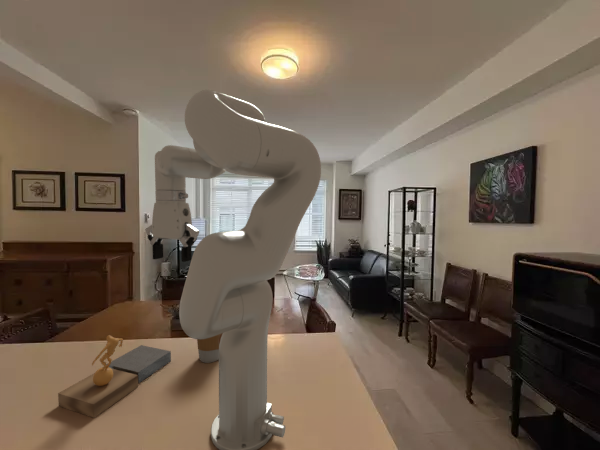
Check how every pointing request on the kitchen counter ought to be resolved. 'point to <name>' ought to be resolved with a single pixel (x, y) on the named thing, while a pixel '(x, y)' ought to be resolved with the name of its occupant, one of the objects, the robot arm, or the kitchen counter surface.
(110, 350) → the figurine
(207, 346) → the coffee cup
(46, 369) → the kitchen counter surface
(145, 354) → the grey metal stand
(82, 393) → the walnut stand
